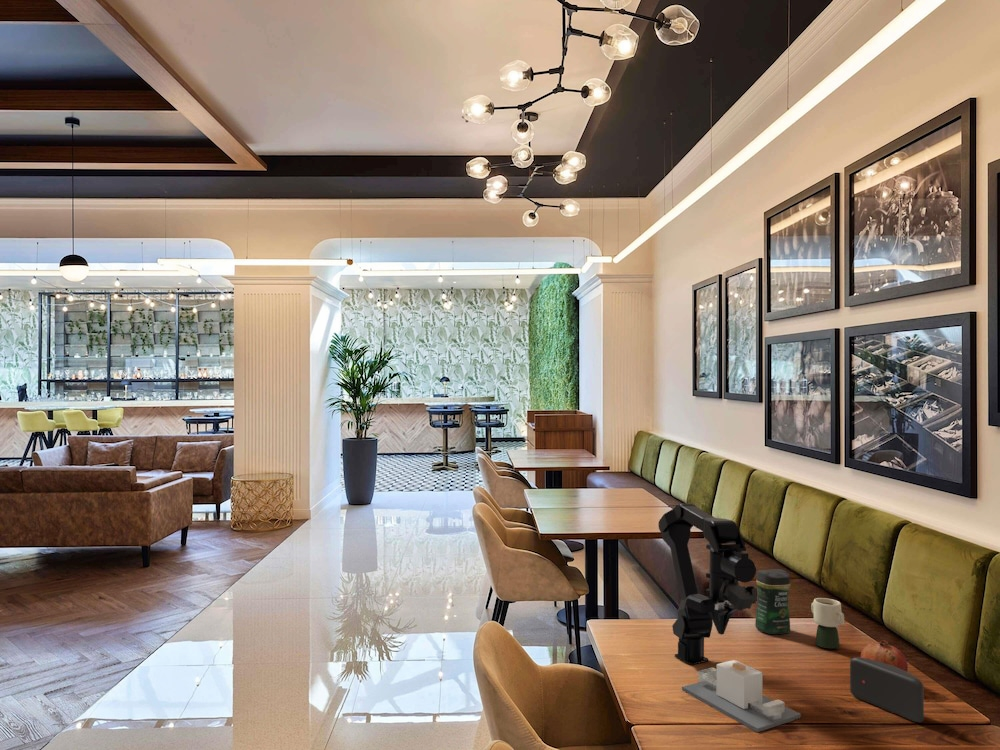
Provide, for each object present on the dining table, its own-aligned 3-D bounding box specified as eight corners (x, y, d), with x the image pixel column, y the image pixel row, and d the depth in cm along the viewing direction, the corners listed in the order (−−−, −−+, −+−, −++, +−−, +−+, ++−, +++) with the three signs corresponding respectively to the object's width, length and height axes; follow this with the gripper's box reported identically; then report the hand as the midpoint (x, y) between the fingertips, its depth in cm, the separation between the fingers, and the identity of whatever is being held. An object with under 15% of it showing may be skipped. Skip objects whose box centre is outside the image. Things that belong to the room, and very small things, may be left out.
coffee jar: (768, 636, 192) (768, 574, 192) (751, 627, 199) (751, 567, 200) (795, 634, 194) (795, 572, 195) (777, 625, 202) (777, 565, 202)
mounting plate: (723, 679, 161) (723, 675, 161) (800, 717, 142) (800, 714, 142) (682, 690, 155) (682, 686, 155) (757, 732, 135) (757, 728, 135)
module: (734, 689, 153) (734, 656, 154) (762, 703, 146) (762, 668, 147) (716, 694, 151) (716, 660, 151) (743, 709, 144) (744, 673, 144)
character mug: (853, 652, 180) (852, 605, 181) (834, 655, 178) (834, 608, 178) (821, 639, 190) (820, 594, 191) (802, 641, 188) (802, 597, 188)
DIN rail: (712, 680, 159) (712, 666, 159) (785, 717, 140) (785, 702, 141) (697, 683, 157) (697, 670, 157) (769, 722, 138) (769, 707, 138)
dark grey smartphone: (932, 721, 142) (931, 678, 142) (920, 726, 139) (920, 682, 140) (859, 692, 156) (859, 652, 156) (848, 696, 153) (848, 656, 154)
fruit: (917, 691, 156) (916, 650, 157) (874, 690, 157) (874, 648, 157) (892, 673, 167) (892, 634, 167) (853, 671, 167) (853, 632, 168)
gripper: (719, 584, 149) (719, 652, 148) (774, 574, 158) (773, 639, 157) (684, 572, 159) (684, 635, 158) (738, 564, 168) (737, 624, 167)
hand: (721, 633), depth 160 cm, fingers closed
